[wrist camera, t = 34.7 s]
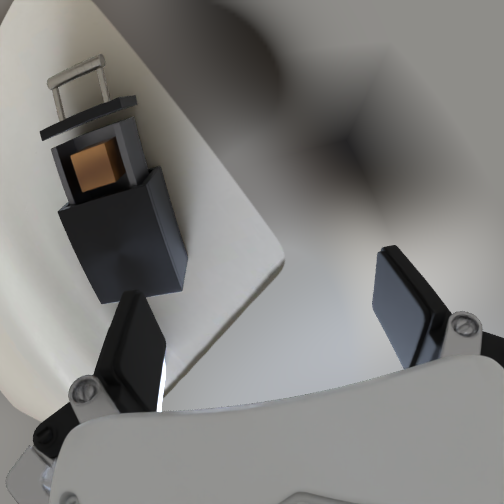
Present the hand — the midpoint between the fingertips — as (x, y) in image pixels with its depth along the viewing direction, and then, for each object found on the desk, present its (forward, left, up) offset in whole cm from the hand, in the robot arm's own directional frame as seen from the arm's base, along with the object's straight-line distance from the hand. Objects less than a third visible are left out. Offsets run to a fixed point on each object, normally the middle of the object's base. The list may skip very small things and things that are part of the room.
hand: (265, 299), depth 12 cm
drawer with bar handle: (+2, -17, -27) cm, 32 cm away
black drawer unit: (+14, -10, -28) cm, 32 cm away
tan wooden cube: (+5, -15, -26) cm, 30 cm away
